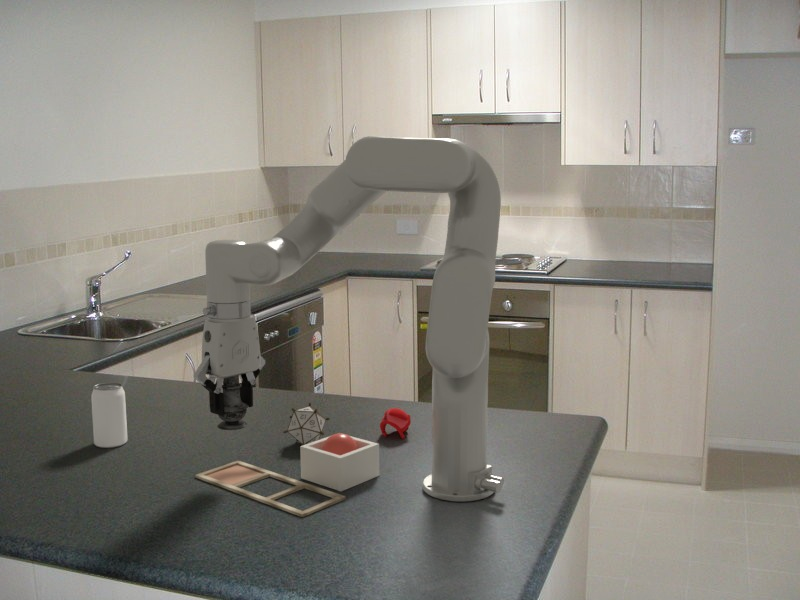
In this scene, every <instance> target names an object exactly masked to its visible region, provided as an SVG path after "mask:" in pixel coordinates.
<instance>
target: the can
mask: <svg viewBox="0 0 800 600" xmlns="http://www.w3.org/2000/svg"><path fill="white" fill-rule="evenodd" d="M92 389H93V390H92V392H91V394H90V395H91V416H92V417H91V419H92V429H93V430H92V432H93V433H92V434H93V444H94V445H95V446H96V448H101V449H113V448H114V449H115V448H119V447H121V446H123V445H125V444H126V443H127V442H128V425H127V423H128V422H127V405H126V392H125V389H124V388H123V384H122V383H121V382H104V383H103V382H102V383H98V384H95V385H93V386H92Z"/></svg>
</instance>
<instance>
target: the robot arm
mask: <svg viewBox="0 0 800 600" xmlns="http://www.w3.org/2000/svg"><path fill="white" fill-rule="evenodd" d="M500 188H501V187H500V184H499V181H498V178H497V176H496V174H495V172H494V170H493V168H492V166H491V164H490V163H489V162H488V160H487V159H486V158H484V156H483V155H481V153H479V152H478V151H477V150H476V149H474V148H473V147H471V146H470V145H468V144H467V143H465V142H464V141H460V140H458V139H453V138H443V137H441V138H439V137H438V138H435V137H433V138H432V137H431V138H430V137H429V138H428V137H426V138H423V137H421V138H420V137H392V136H391V137H389V136H380V135H379V136H377V135H369V136H368V135H367V136H364V137H361V138H359V139H358V140H357V141H355V142H354V143H353V144H352V145H351V146H350V148H349V149H348V151H347V153H346V155H345V159H344V160H343V161H342V162H341V163H340V164H339V165H337V167H336V168H335V169H333V171H331V172H330V173H329V174H328V175H327V176H326V177H324V178H323V180H321V181H320V182H319V183H317V185H316V186H314V187H313V188H312V190H310V192H309V194H308V196H307V199H306V201H305V204H304V206H303V207H302V209H301V210H300V211H299V212H298V213H297V215H296V216H295V217H294V218H292V219H291V221H289V222H288V223H287V224H286V225H285V226H283V228H282V229H281V230H280V231H278V232H277V233H276V234H275V235H274V236H273V237H271V238H268V239H264V240H261V241H258V242H253V243H250V242H249V243H246V242H245V241H242V240H239V239H220V240H219V239H218V240H212V241H210V242H208V243H207V244H206V246H205V253H204V254H205V255H204V256H205V281H206V284H205V285H206V307H203V308H202V314H203V315H204V316H207V317H206V318H207V319H205V320H204V325H203V330H202V331H203V332H202V339H201V340H202V341H201V363H200V364H199V366H198V368H197V369H196V370H195V372H194V373H193V379H195V380H196V381H197V382H198V383H199V384H201V386H202V387H203V388H204V389H205V390H206V392H208V395H209V396H208V398H209V411H210V413H211V414H215V415H217V416H218V415H223V414H224V394H223V392H221V391H222V389H223V388H222V385H223V381H224V378H228V377H232V376H237V375H239V380H240V382H239V384H241V387H240V398H241V401H242V402H243V403H246V404H248V408H252V407H253V406H254V388H253V386H254V385H256V382H257V381H256V379H257V378H258V376H259V375H260V373H261V370H262V369H263V367H264V366H265V365H266V359H265V358H264V357H263V356H262V355H261V346H260V337H259V330H258V326H257V322H256V319H255V316H254V315H252V314H251V310H252V309H251V284H252V285H257V286H271V285H274V284H276V283H279V282H281V281H283V280H284V279H287V278H288V277H291V276H292V275H293V274H295V273H297V271H299V270H300V269H301V268H302V267H303V266H304V265H306V264H307V263H308V262H309V261H310V260H312V258H314V257H315V255H317V254H318V253H319V252H320V251H321V250H322V249H324V248H325V247H326V246H327V245H328V244H329V243H330V242H331V241H332V240H333V239H334V238H336V237H337V236H338V235H340V233H342V232H343V231H344V229H346V228H347V227H348V226H349V225H350V224H352V223H353V221H355V220H356V219H357V218H358V217H359V216H360V215H361V214H362V213H363V212H364V211H365V210H366V209H368V208H369V207H370V206H371V205H372V204H374V203H375V202H376V201H377V200H378V199H379V198H381V197H382V196H383V195H384V194H385V193H386V192H394V193H395V192H396V193H397V192H398V193H399V192H400V193H426V194H447V195H448V198H449V202H450V203H449V212H448V213H449V214H448V220H447V231H446V233H447V234H446V238H445V239H446V240H445V241H446V242H445V249H444V254H443V257H442V260H441V261H440V262H439V264H438V265H437V266H436V269H435V272H434V274H433V279H432V283H431V293H430V300H429V309H428V316H427V327H426V334H425V354H426V358H427V360H428V362H429V364H430V366H431V368H432V377H431V378H432V379H431V380H432V381H431V382H432V383H431V388H432V389H431V473H430V474H429V475H427V476H426V477H425V478H424V479H423V480H422V489H423V491H424V492H425V493H426V494H427V495H428V496H431V497H433V498H436V499H439V500H441V501H442V500H443V501H448V502H463V503H464V502H474V501H479V500H483V499H487V498H488V497H489V496H491V495H493V494H494V493H497V494H500V493H501V492H502V490H503V485H504V482H505V480H504V477H501V476H498V475H493V466H492V465H491V464H487V463H488V461H487V460H488V459H487V458H488V457H487V455H488V451H487V450H488V403H489V401H488V399H489V397H488V396H489V365H490V364H489V363H490V362H489V361H490V360H489V359H490V331H489V319H490V312H491V304H492V295H493V290H494V286H495V282H496V259H497V250H498V243H499V229H500V220H501V219H500V218H501V208H502V207H501V206H502V204H501V202H502V201H501V200H502V198H501V190H500ZM207 376H208V377H207Z"/></svg>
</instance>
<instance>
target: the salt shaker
mask: <svg viewBox="0 0 800 600" xmlns="http://www.w3.org/2000/svg"><path fill="white" fill-rule="evenodd" d="M239 383H240V376H239V375H237V376H232V377H228V378H224V381H223V385H222V388H221V389H222V393H223V394H224V414H223V415H217V416H218V418H219V419H221V420H222V421H221V422H219V423H218V424H217V429H220V430H224V431H237V430H242V429H244V428H246V427H247V426H248V422H246V421H245V420H242V419H243V418H245V416H246V414H247V411H248V410H247V409H248V408H249V407H248V404H246V403H243V402H242V401H241V398H240V387H241V384H239Z"/></svg>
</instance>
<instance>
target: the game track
mask: <svg viewBox="0 0 800 600" xmlns="http://www.w3.org/2000/svg"><path fill="white" fill-rule="evenodd" d="M269 477H270V478H273V479H276V480H279V481H283V482H284V483H285V482H286V483H288V484H291V485H293V486H292V487H289V488H287V489H284V490H282V491H279V492H277V493H274V494H271V495H269V496H266V497H265V496H262V495H259V494H257V493H254V492H252V491H249V490H246V489H243V487H245V486H247V485H250V484H254V483H256V482H259V481H261V480H264V479H266V478H269ZM194 478H195V479H199V480H201V481H202V482H203V481H204V482H206V483H208V484H212V485H214V486H217V487H220V488H223V489H225V490H228V491H231V492H233V493H236V494H239V495H242V496H244V497H247V498H250V499H252V500H255V501H257V502H260V503H263V504H266V505H269V506H271V507H273V508H275V509H279V510H281V511H284V512H287V513H290V514H292V515H295V516H298V517H300V518H305V517H306V516H307V517H308V516H310V515H312V514H313V513H315V512H316V513H317V512H319V511H321V510H323V509H325V508H328V507H330V506H333V505H334V504H335V505H336V504H338V503H340V502H343V501H344V500H346V499H347V498H346V495H343V494H339V493H336V492H333V491H331V490H327V489H324V488H322V487H319V486H316V485H313V484H310V483H307V482H303V481H301V480H298V479H296V478H295V479H294V478H291V477H289V476H285V475H283V474H280V473H277V472H274V471H271V470H268V469H265V468H262V467H259V466H255V465H253V464H250V463H247V462H244V461H242V460H235V461H232V462H229V463H227V464H224V465H221V466H217V467H215V468H211V469H208V470H205V471H202V472H200V473H197V474H195V475H194ZM303 489H305V490H308V491H311V492H315V493H317V494H321V495H323V496H326V497H329V498H331V499H329V500H325V501H323V502H321V503H319V504H316V505H314V506H311V507H309V508H307V509H304V510H301V509H298V508H295V507H294V506H289V505H287V504H285V503H282V502H279V501H276V500H278V499H280V498H283V497H285V496H288V495H291V494H292V493H295V492H299V491H300V490H303Z"/></svg>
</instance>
